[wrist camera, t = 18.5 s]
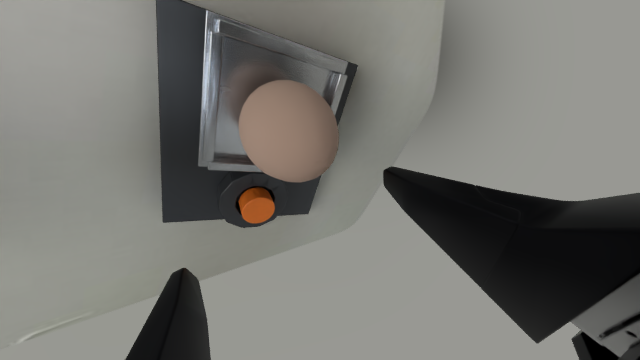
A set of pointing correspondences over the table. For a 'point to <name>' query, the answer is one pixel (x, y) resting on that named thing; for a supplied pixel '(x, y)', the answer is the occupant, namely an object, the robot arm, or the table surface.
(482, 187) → the robot arm
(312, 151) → the egg
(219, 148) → the brushed steel platform
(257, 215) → the button
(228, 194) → the scale
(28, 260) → the table surface
